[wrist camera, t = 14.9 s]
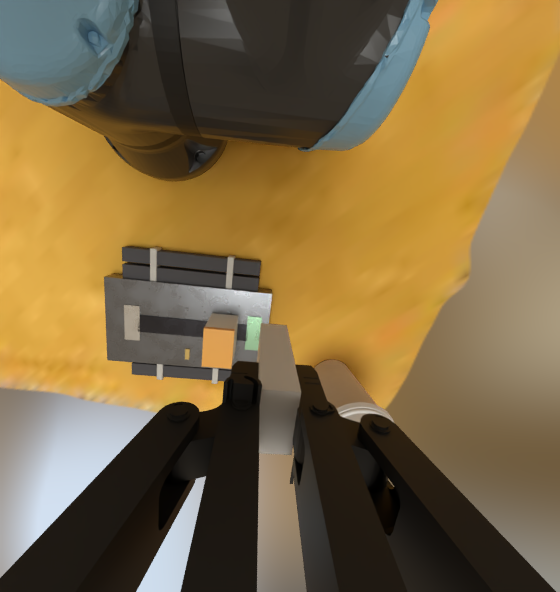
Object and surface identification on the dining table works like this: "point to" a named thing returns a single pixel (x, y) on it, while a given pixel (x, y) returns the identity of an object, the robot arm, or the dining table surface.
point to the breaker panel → (177, 320)
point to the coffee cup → (346, 391)
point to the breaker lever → (219, 341)
